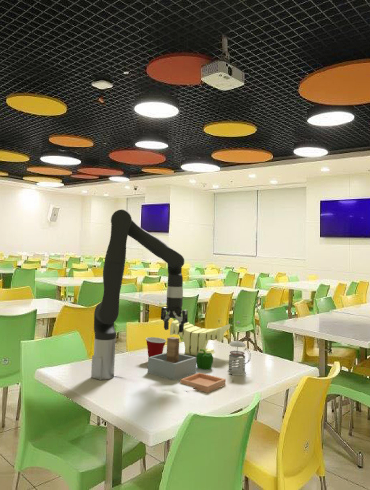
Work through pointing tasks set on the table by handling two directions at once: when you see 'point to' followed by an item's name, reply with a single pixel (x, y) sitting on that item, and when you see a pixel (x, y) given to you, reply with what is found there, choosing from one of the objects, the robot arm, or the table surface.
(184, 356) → the grey tub
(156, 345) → the plastic cup
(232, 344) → the french press
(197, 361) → the bell pepper
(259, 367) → the table surface
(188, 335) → the slatted curved stool
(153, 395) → the table surface
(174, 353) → the walnut stick
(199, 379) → the terracotta tray
